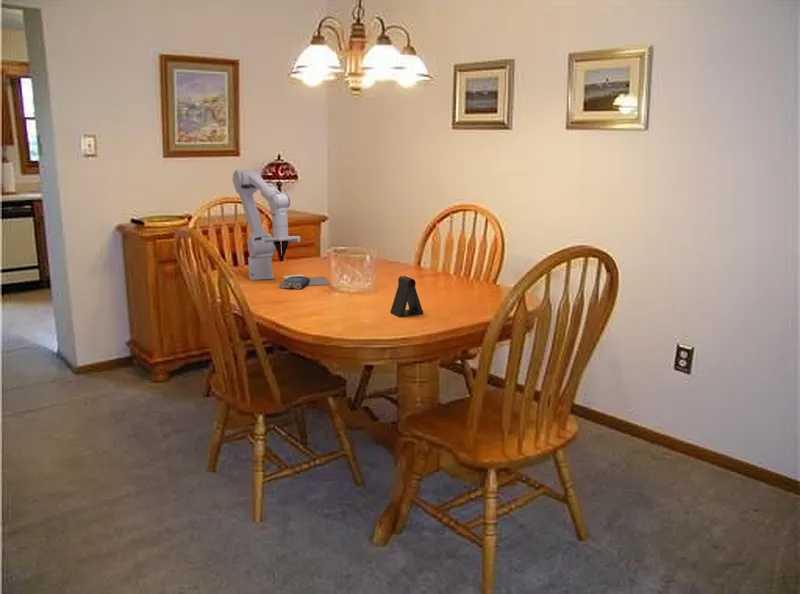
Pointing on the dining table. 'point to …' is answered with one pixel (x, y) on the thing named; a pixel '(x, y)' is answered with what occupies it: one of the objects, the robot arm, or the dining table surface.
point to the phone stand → (406, 298)
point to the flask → (295, 282)
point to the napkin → (290, 276)
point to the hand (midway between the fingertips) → (281, 260)
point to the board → (318, 281)
